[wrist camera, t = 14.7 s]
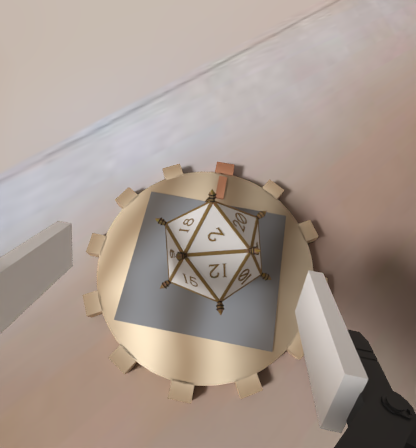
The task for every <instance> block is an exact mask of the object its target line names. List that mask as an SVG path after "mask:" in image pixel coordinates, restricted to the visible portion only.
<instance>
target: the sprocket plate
mask: <svg viewBox="0 0 416 448" xmlns="http://www.w3.org/2000/svg"><path fill="white" fill-rule="evenodd" d="M234 166H235V165H233V164H227V163H221V162H217V165H216V170H215V172H193V173H186V174H183V171H182V169H181V166H180V164H177V165H173V166H170V167H166V168H163V173H164V177H165V180H162V181H160V182H158V183H156V184H154V185H152V186H150V187H149V188H147V189H145V190H144V191H142V192H141V193H140V194H136V193H135V192H134V191H133V190H132V189H130V188H129V187H128V188H127V189H126V190H125V191H124V192H123V193H122V194H121V195H120V196H119V197H117V198H116V199H115V200H116V202H117V204H118V205H119V206H120V207H121V208H122V210H121V212H120V213H119V215H118V216H117V217H116V219H115V220H114V221H113V223H112V225H111V227H110V228H109V230H108V232H107V234H106V236H105V235H100V234H94V233H92V236H91V239H90V242H89V245H88V248H87V250H86V252H87V253H88V254H89V255H90V256H95V257H99V259H98V267H97V291H94V292H91V293H88V294H85V295H83V300H84V305H85V310H86V315H87V316H88V317H94V316H97V315H100V314H103V316H104V318H105V320H106V323H107V325H108V327H109V329H110V331H111V332H112V334H113V335H114V337H115V339H116V340H117V342H118V343H119V344H120V345H119V346H118V348H117V349H116V350H115V351H114V352H113V353H112V354H111V355H110V356H109V359H110V360H111V361H112V362H113V363H114V364H115V365H116V366H117V367H118V368H119V370H120V371H121V372H122V373H123V374H127V373H128V372H129V371H130V370H131V369H132V368H133V366H134V365H135V364H136V363H137V362H138V363H139V364H140V365H142V366H144V367H145V368H147V369H148V370H150V371H151V372H153V373H155V374H157V375H159V376H162V377H164V378H166V379H169V380H171V385H170V390H169V394H168V399H172V400H176V401H181V402H186V403H190V404H191V401H192V395H193V390H194V385H197V386H215V385H221V384H227V383H232V382H234V383H235V386H236V388H237V391H238V394H239V397H240V398H241V399H243V398H245V397H248V396H250V395H253V394H255V393H257V392H260V391H262V390H263V389H262V386H261V383H260V381H259V378H258V375H257V373H258V372H260V371H261V370H263V369H264V368H266V367H267V366H269V365H270V364H272V363H273V362H274V361H275V360H276V359H278V358H279V357H280V356H281V355H282V354H283V353H284V352H285V351H288V352H289V353H290V354H291V355H292V356H293V357H294V358H296V359H300V360H301V358H302V357H303V355H304V352H303V347H302V343H301V338H300V333H299V329H298V324H297V320H296V315H295V310H296V307H297V304H298V300H299V297H300V294H301V291H302V288H303V285H304V282H305V279H306V276H307V273H308V270H310V271H313V264H312V257H311V254H310V250H309V246H308V243H310V242H313V241H315V240H316V239H317V238H318V237H319V236H318V234H317V232H316V230H315V228H314V226H313V224H312V223H311V221H310V220H308V221H305V222H302V223H299V224H298V223H297V221H296V220H295V218H294V217H293V216H292V214H291V213H290V212H289V210H288V209H287V208H286V207H285V206H284V205H283V204H282V203H281V202H280V201H279V200H278V199H279V198H280V197H281V195H282V194H283V192H284V189H282V188H281V187H279V186H278V185H277V184H275V183H274V182H273V181H271V180H269V181H268V182H267V183H266V184H265V185H264V186H263V187H260V186H258V185H256V184H254V183H252V182H250V181H248V180H245V179H243V178H240V177H237V176H233V172H234ZM212 189H213V191H214V192H215V193H216V194H217V195H216V198H215V201H218V202H220V203H223V204H226V205H228V206H231V207H233V208H236V209H239V210H241V211H244V212H247V213H249V214H252V215H254V216H257V214H258V213H259V212H260V211H267V212H266V214H265V217H262V218H260V219H259V233H260V247H261V261H262V273H267V274H269V276H270V278H271V279H272V280H266V281H265V279H262V277H261V276H259V277H258V278H256V279H255V280H254V281H252V282H251V283H249V284H248V285H246V286H245V287H243V288H242V289H240V290H239V291H237V292H236V293H234V294H233V295H231V296H230V297H228V298H227V299H225V300H224V301H223V302H222V303H223V305H224V306H223V307H224V308H225V309H224V310H223V312H222V315H220V313H219V312H218V311H217V310H216V309H217V307H216V305H217V302H215V301H213V300H210V299H208V298H205V297H203V296H201V295H198V294H196V293H193V292H191V291H189V290H186V289H184V288H182V287H179V286H177V285H174V284H172V283H171V284H170V285H169V287H167V289H166V288H161V289H160V287H161V285H162V282H164V281H167V280H169V279H168V264H167V249H166V234H165V226H164V225H161V224H158V222H157V221H156V219H155V218H161V217H162V219H165V221H166V222H168V221H170V220H172V219H174V218H176V217H178V216H180V215H182V214H184V213H186V212H188V211H190V210H192V209H194V208H196V207H198V206H200V205H202V204H204V203H206V202H205V201H206V199H207V198H208V197H209V195H208V194H209V192H211V190H212ZM325 279H326V281H327V283H328V278H327V277H325Z"/></svg>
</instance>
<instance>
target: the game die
mask: <svg viewBox="0 0 416 448" xmlns="http://www.w3.org/2000/svg"><path fill="white" fill-rule="evenodd" d="M208 195H209V197H208V198H207V199H206V201H205V202H206V203H204V204H202V205H200V206H198V207H196V208H194V209H192V210H190V211H188V212H186V213H184V214H182V215H180V216H178V217H176V218H174V219H172V220H170V221H168V222H166V221H165V219H162V217H161V218H155V219H156V221H157V222H158V224H161V225H164V226H165V234H166V249H167V264H168V279H169V280H167V281H164V282H162V285H161V287H160V289H161V288H166V289H167V287H169V285H170V284H171V283H172V284H174V285H177V286H179V287H182V288H184V289H186V290H189V291H191V292H193V293H196V294H198V295H201V296H203V297H205V298H208V299H210V300H213V301H215V302H217V305H216V307H217V309H216V310H217V311H218V312H219V313H220V315H222V312H223V310H224V309H225V308H224V307H223V306H224V305H223V303H222V302H223V301H224V300H225V299H227V298H228V297H230V296H231V295H233V294H234V293H236V292H237V291H239V290H240V289H242V288H243V287H245V286H246V285H248V284H249V283H251V282H252V281H254V280H255V279H256V278H258V277H259V276H261V277H262V279H265V281H266V280H272V279H271V278H270V276H269V274H267V273H262V261H261V247H260V233H259V219H260V218H262V217H265V214H266V212H267V211H260V212H259V213H258V214H257V216H254V215H252V214H249V213H247V212H244V211H241V210H239V209H236V208H233V207H231V206H228V205H226V204H223V203H220V202H218V201H215V198H216V195H217V194H216V193H215V192H214V191H213V189H212V190H211V192H209V194H208Z"/></svg>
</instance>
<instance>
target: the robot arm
mask: <svg viewBox="0 0 416 448" xmlns="http://www.w3.org/2000/svg"><path fill="white" fill-rule="evenodd" d="M72 266H73V264H72V224H71V223H67V222H62V221H57V222H56V223H54V224H52V225H51V226H49V227H48V228H46V229H45V230H43V231H41V232H40V233H38V234H37V235H35V236H33V237H32V238H30V239H29V240H27V241H26V242H24V243H22V244H21V245H19V246H18V247H16V248H14V249H13V250H11V251H10V252H8V253H7V254H5V255H3V256H2V257H0V334H1V333H2V332H3V331H4V330H5V329H6V328H7V327H8V326H9V325H10V324H11V323H12V322H13V321H15V320H16V319H17V318H18V317H19V316H20V315H21V314H22V313H23V312H24V311H25V310H26V309H27V308H28V307H29V306H30V305H32V304H33V303H34V302H35V301H36V300H37V299H38V298H39V297H40V296H41V295H42V294H43V293H44V292H45V291H46V290H48V289H49V288H50V287H51V286H52V285H53V284H54V283H55V282H56V281H57V280H58V279H59V278H60V277H61V276H62V275H63V274H65V273H66V272H67V271H68V270H69V269H70V268H71V267H72ZM295 315H296V320H297V324H298V329H299V333H300V338H301V343H302V347H303V352H304V356H305V361H306V366H307V370H308V375H309V379H310V384H311V389H312V393H313V398H314V403H315V407H316V412H317V416H318V421H319V426H320V428H321V429H325V430H330V431H334V432H339V433H342V431H343V429H344V427H345V425H346V423H347V424H348V428H347V430H346V431H345V433H344V434H343V436H342V437H341V438H340V440H339V441H338V443H337V444H336V446H335V447H334V448H416V414H415V412H414V409H413V408H412V406H411V405H410V404H409V403H408V401H407V400H405V399H404V398H403V397H402V396H401V395H399V394H398V393H396V392H394V391H392V388H391V386H390V384H389V382H388V380H387V378H386V376H385V374H384V372H383V370H382V368H381V366H380V364H379V362H377V358H376V356H375V354H373V350H372V348H371V346H370V344H369V342H368V341H367V340H366V339H365V338H364V337H363V335H362V334H361V333H360V332H357V331H352V330H347V328H346V325H345V323H344V321H343V318H342V316H341V314H340V311H339V309H338V307H337V304H336V302H335V300H334V297H333V295H332V293H331V290H330V288H329V286H328V283H327V281H326V279H325V276H324V274H323V273H320V272H315V271H310V270H308V273H307V276H306V279H305V282H304V285H303V288H302V291H301V294H300V297H299V300H298V304H297V307H296V310H295Z"/></svg>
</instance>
